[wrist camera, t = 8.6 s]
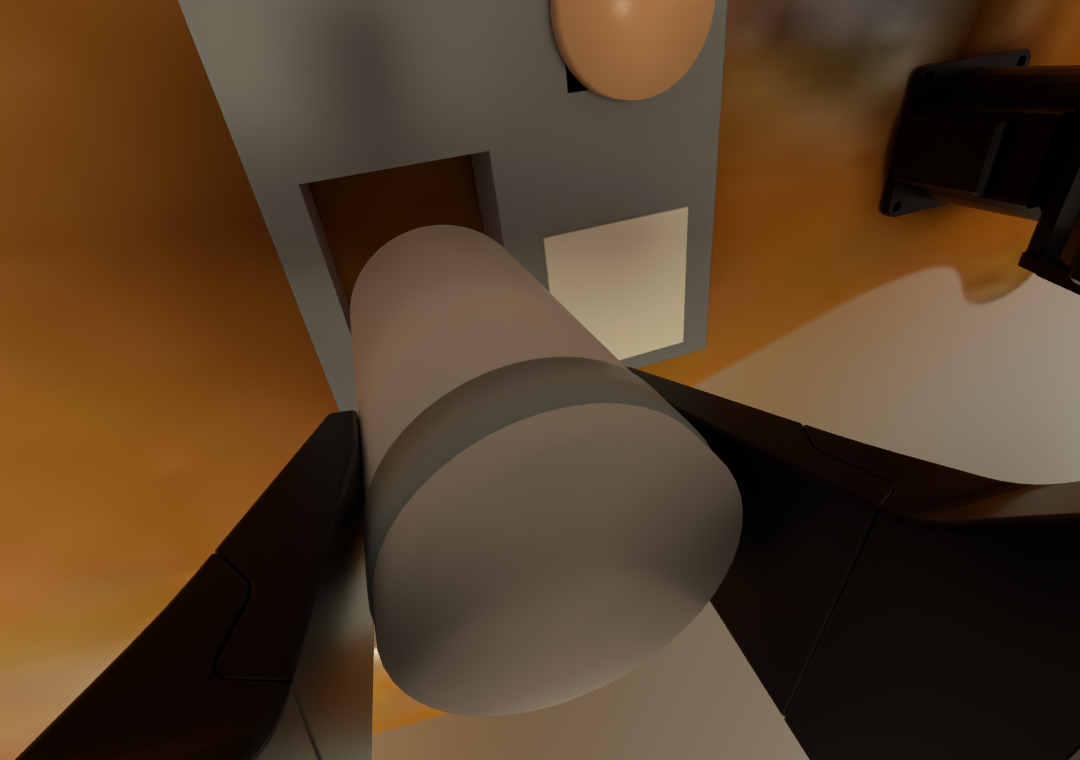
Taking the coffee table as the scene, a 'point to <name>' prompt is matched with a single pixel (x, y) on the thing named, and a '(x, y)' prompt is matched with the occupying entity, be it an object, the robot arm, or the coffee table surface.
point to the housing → (475, 153)
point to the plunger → (630, 42)
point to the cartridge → (519, 486)
